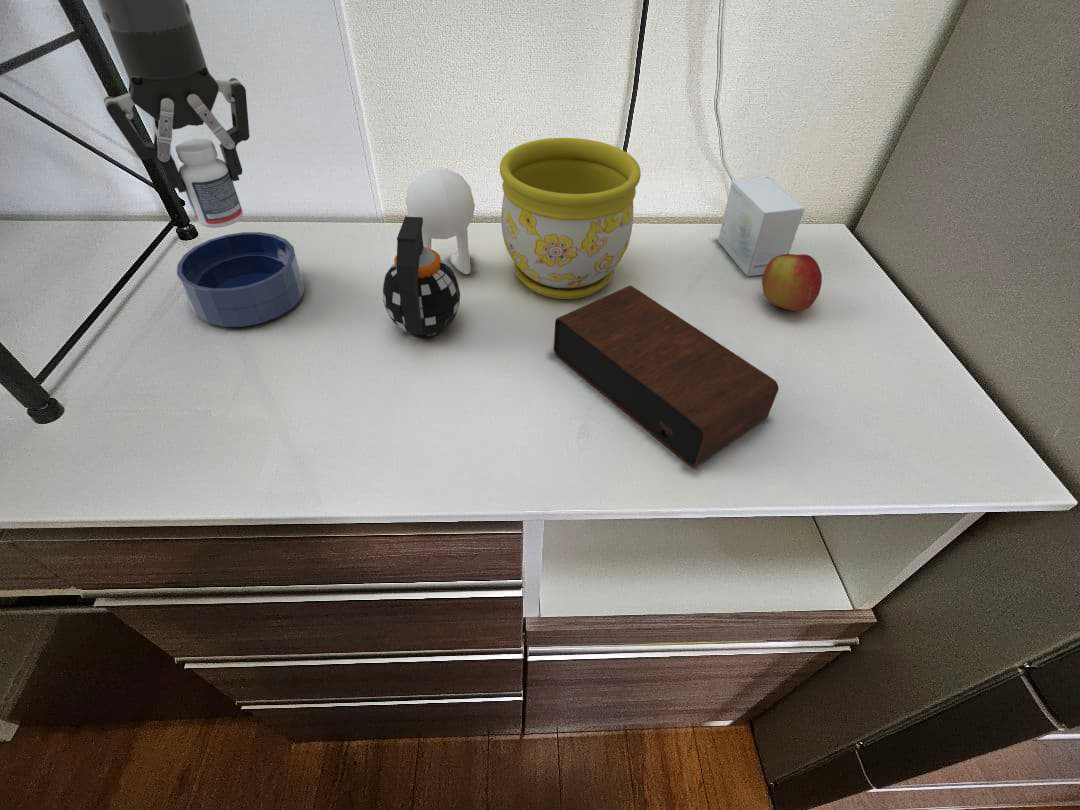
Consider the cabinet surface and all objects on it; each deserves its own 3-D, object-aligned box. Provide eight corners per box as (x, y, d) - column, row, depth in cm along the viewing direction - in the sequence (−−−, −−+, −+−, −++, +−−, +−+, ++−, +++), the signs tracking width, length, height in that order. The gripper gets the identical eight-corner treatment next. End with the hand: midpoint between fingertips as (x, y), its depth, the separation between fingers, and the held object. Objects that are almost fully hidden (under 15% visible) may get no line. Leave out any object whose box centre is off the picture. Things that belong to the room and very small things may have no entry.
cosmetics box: (714, 241, 99) (730, 177, 92) (751, 237, 100) (770, 174, 93) (745, 277, 92) (764, 211, 85) (784, 273, 93) (807, 207, 86)
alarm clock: (765, 422, 71) (780, 383, 66) (694, 470, 65) (707, 431, 61) (621, 320, 84) (627, 282, 79) (553, 353, 78) (555, 315, 74)
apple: (815, 300, 88) (836, 249, 83) (804, 330, 83) (825, 278, 78) (762, 284, 91) (778, 234, 85) (747, 313, 86) (764, 262, 80)
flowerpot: (588, 234, 100) (597, 129, 88) (649, 293, 88) (669, 181, 77) (482, 257, 94) (478, 148, 82) (533, 324, 82) (536, 208, 71)
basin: (177, 330, 79) (158, 291, 75) (213, 269, 89) (199, 231, 85) (291, 330, 80) (279, 290, 76) (314, 269, 90) (305, 232, 86)
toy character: (467, 250, 95) (461, 152, 85) (485, 282, 89) (482, 181, 79) (408, 261, 92) (394, 161, 82) (423, 294, 87) (411, 191, 76)
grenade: (455, 361, 77) (445, 253, 66) (378, 357, 77) (356, 249, 66) (466, 306, 85) (459, 202, 74) (396, 304, 85) (379, 199, 74)
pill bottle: (253, 214, 77) (230, 141, 71) (221, 233, 74) (194, 158, 68) (220, 204, 79) (195, 132, 73) (187, 222, 75) (158, 148, 69)
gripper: (217, 2, 66) (261, 159, 78) (61, 17, 61) (135, 185, 73) (234, 19, 62) (279, 183, 74) (69, 36, 56) (146, 211, 68)
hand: (208, 183), depth 73 cm, fingers closed on pill bottle, 5 cm apart
